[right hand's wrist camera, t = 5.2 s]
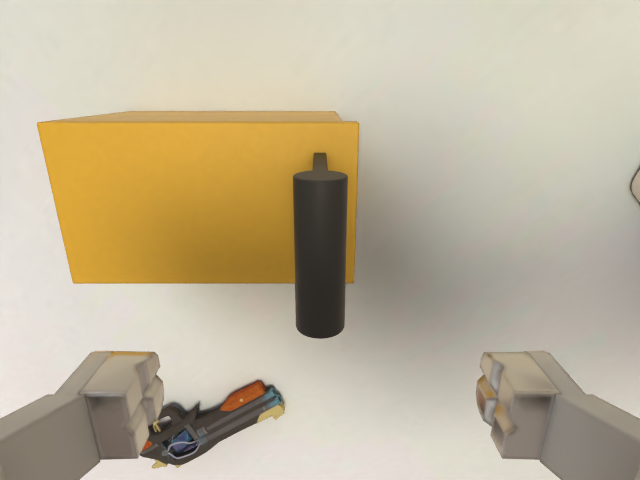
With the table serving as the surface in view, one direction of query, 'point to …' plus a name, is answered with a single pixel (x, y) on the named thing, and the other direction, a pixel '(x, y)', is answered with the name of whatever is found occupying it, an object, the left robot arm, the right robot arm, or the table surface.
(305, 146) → the lid
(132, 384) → the right robot arm
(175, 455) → the toy gun
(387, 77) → the table surface
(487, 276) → the table surface
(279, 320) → the table surface
